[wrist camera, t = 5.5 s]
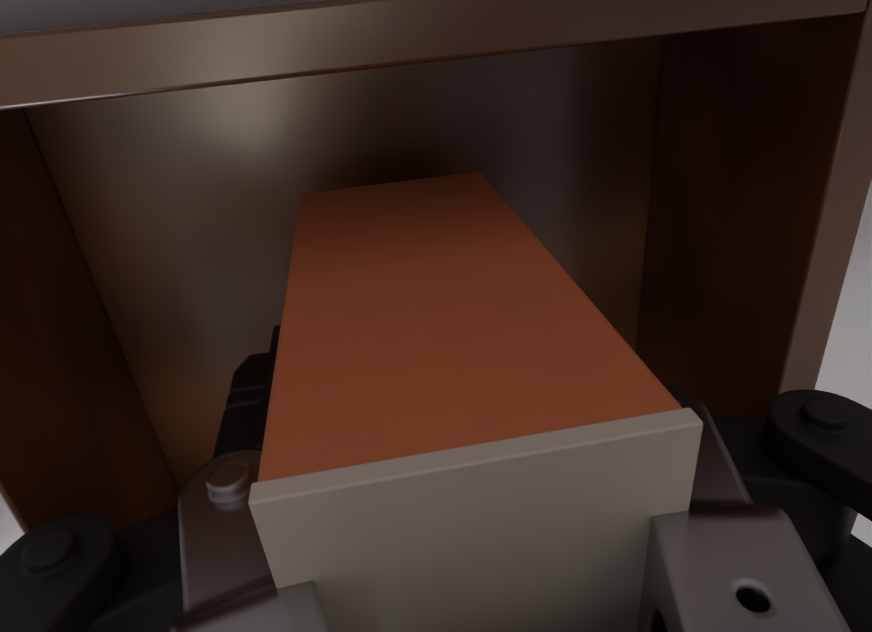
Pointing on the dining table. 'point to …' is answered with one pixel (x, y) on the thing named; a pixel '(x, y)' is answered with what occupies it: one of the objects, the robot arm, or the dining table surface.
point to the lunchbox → (393, 162)
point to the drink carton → (458, 424)
